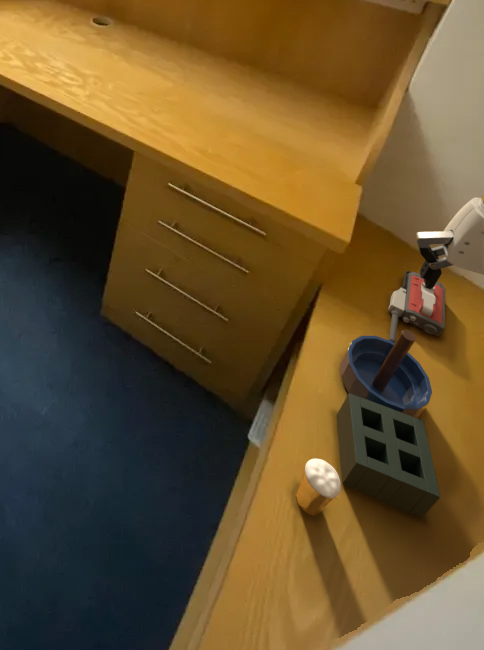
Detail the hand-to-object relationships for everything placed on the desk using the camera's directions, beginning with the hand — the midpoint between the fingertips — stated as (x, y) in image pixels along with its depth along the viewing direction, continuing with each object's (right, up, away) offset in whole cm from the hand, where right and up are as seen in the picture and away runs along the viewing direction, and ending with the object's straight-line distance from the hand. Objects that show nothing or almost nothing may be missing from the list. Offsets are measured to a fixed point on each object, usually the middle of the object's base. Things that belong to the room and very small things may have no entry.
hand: (465, 292), depth 75 cm
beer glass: (-23, -32, +1) cm, 40 cm away
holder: (-10, -30, +5) cm, 32 cm away
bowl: (-3, -24, +15) cm, 28 cm away
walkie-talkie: (+12, -17, +27) cm, 34 cm away
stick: (-3, -23, +15) cm, 28 cm away
